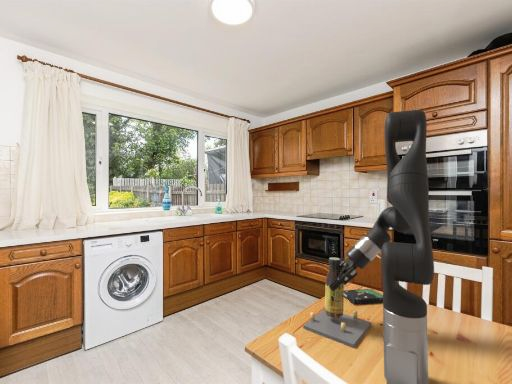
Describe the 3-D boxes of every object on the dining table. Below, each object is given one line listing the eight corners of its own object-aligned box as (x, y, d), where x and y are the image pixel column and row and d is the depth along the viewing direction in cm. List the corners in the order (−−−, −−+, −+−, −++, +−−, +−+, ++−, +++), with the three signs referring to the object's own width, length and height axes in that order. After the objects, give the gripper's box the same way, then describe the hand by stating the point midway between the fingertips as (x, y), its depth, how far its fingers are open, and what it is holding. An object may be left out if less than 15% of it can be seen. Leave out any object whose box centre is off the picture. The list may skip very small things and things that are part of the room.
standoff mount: (353, 347, 74) (353, 335, 74) (303, 328, 85) (303, 318, 85) (371, 325, 87) (371, 315, 87) (325, 310, 98) (325, 301, 98)
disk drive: (354, 306, 103) (386, 303, 105) (354, 299, 103) (386, 296, 105) (341, 296, 113) (371, 293, 116) (341, 290, 113) (371, 287, 116)
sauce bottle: (331, 320, 85) (330, 261, 86) (321, 311, 91) (320, 257, 92) (348, 317, 87) (346, 259, 87) (337, 309, 93) (336, 255, 93)
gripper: (349, 241, 96) (318, 271, 97) (361, 249, 82) (324, 285, 83) (364, 255, 95) (332, 285, 97) (378, 265, 81) (341, 301, 82)
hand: (329, 285), depth 90 cm, fingers closed on sauce bottle, 6 cm apart
